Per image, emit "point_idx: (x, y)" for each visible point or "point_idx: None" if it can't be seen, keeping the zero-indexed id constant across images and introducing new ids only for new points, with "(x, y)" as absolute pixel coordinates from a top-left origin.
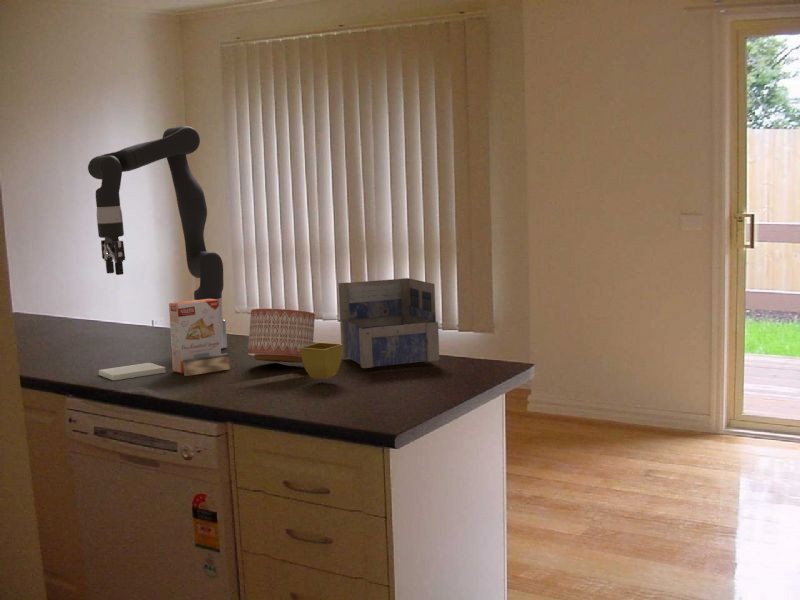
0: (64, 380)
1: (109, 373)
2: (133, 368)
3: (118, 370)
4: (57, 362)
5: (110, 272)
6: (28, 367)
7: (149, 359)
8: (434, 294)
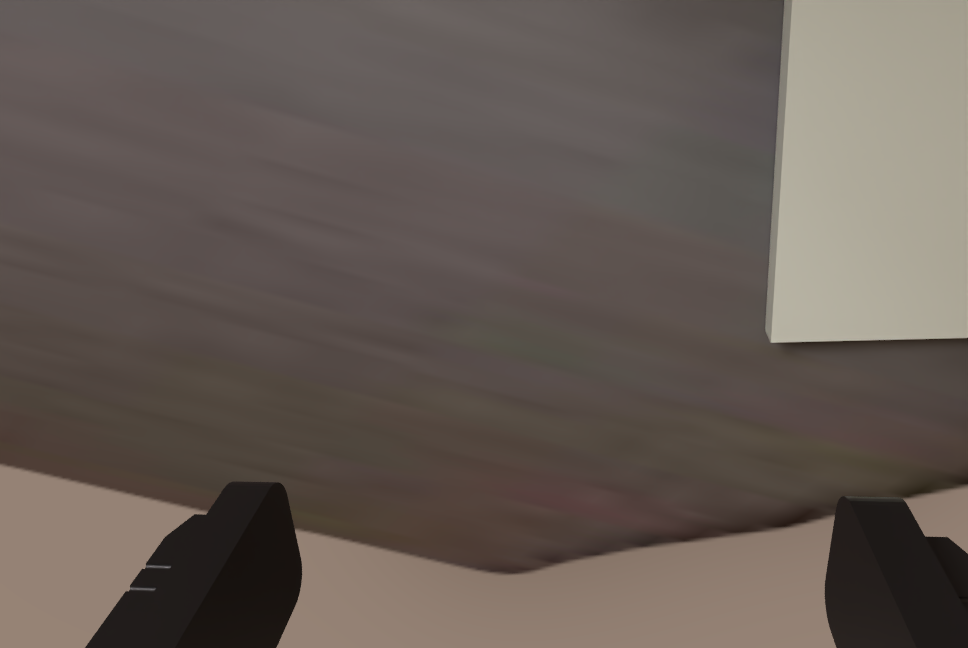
0: (761, 495)
1: (950, 331)
2: (922, 166)
3: (900, 261)
4: (177, 379)
5: (290, 545)
6: None
7: None
8: None
